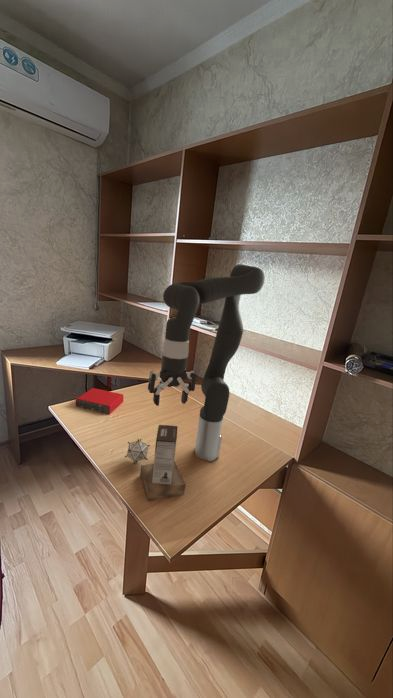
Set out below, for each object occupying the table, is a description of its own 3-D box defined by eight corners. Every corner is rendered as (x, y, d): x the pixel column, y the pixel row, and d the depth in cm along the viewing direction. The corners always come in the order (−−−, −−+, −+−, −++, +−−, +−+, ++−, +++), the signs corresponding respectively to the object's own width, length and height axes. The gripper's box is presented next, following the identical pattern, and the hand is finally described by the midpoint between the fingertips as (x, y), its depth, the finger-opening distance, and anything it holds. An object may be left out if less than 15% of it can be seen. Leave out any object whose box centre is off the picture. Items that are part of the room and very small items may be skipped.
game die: (138, 452, 113) (140, 429, 110) (153, 463, 108) (155, 439, 105) (119, 462, 106) (120, 438, 103) (134, 474, 101) (136, 449, 98)
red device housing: (75, 407, 140) (75, 398, 139) (91, 396, 154) (92, 387, 152) (109, 415, 137) (109, 406, 136) (123, 403, 151) (123, 394, 149)
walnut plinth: (173, 470, 105) (174, 460, 104) (184, 494, 95) (185, 483, 94) (140, 475, 101) (141, 465, 100) (147, 501, 90) (148, 490, 89)
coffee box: (154, 464, 101) (158, 423, 97) (173, 466, 101) (177, 425, 97) (151, 483, 92) (155, 439, 88) (171, 485, 92) (177, 441, 88)
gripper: (193, 350, 92) (187, 397, 96) (148, 349, 86) (144, 399, 90) (202, 357, 85) (195, 407, 89) (154, 357, 79) (150, 411, 84)
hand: (170, 403), depth 90 cm, fingers open, 8 cm apart
